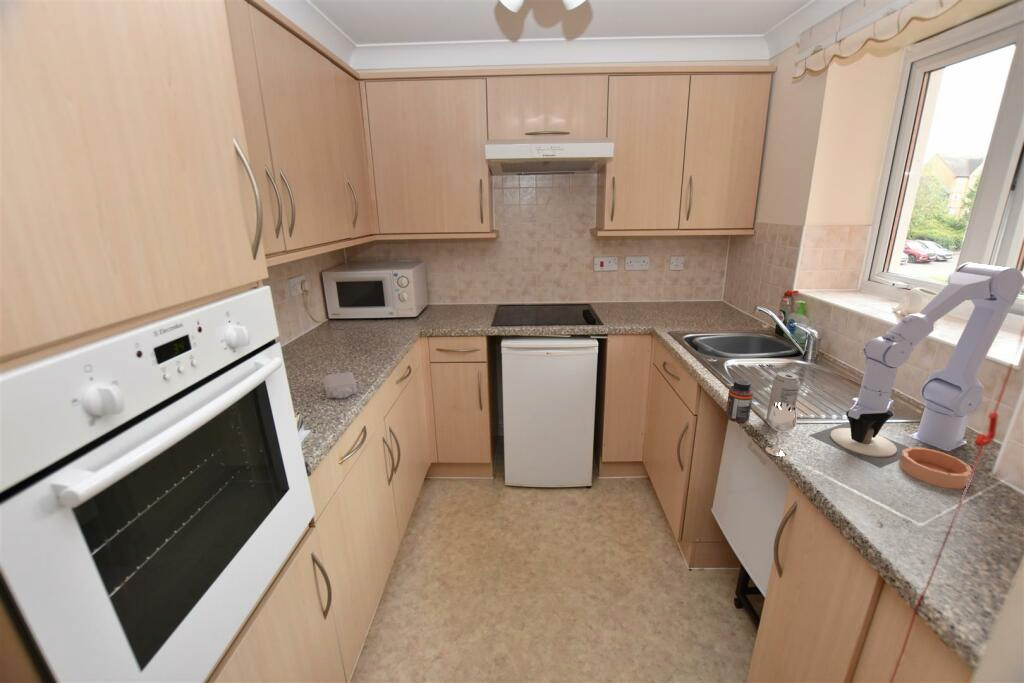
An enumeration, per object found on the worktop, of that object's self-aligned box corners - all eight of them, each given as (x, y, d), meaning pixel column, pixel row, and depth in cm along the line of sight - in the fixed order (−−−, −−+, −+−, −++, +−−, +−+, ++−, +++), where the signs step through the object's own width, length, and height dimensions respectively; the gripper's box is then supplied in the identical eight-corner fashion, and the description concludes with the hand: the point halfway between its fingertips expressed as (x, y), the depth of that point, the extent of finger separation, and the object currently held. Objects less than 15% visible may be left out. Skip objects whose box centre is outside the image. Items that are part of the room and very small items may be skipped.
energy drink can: (782, 421, 121) (792, 370, 116) (795, 432, 115) (806, 379, 110) (760, 421, 121) (769, 370, 116) (772, 432, 115) (782, 379, 111)
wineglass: (780, 444, 109) (788, 401, 105) (795, 457, 104) (804, 411, 100) (757, 445, 109) (765, 401, 105) (771, 458, 103) (780, 412, 100)
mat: (846, 424, 119) (846, 422, 119) (918, 452, 105) (919, 451, 105) (808, 436, 113) (809, 435, 112) (879, 469, 99) (880, 467, 99)
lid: (849, 425, 117) (852, 412, 116) (907, 449, 106) (912, 434, 104) (818, 436, 112) (821, 422, 110) (876, 462, 100) (881, 446, 99)
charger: (328, 406, 133) (325, 389, 146) (360, 400, 137) (353, 384, 150) (326, 392, 132) (323, 375, 145) (358, 386, 136) (352, 371, 149)
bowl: (915, 456, 104) (919, 443, 103) (977, 481, 94) (982, 467, 93) (888, 467, 99) (892, 454, 98) (951, 495, 90) (956, 481, 89)
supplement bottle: (723, 412, 126) (729, 376, 123) (746, 415, 124) (752, 378, 121) (726, 422, 121) (732, 384, 117) (750, 425, 119) (757, 386, 116)
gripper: (875, 376, 110) (862, 425, 115) (839, 386, 105) (828, 437, 109) (908, 386, 104) (894, 437, 108) (873, 398, 99) (859, 450, 103)
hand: (863, 438), depth 108 cm, fingers open, 5 cm apart
